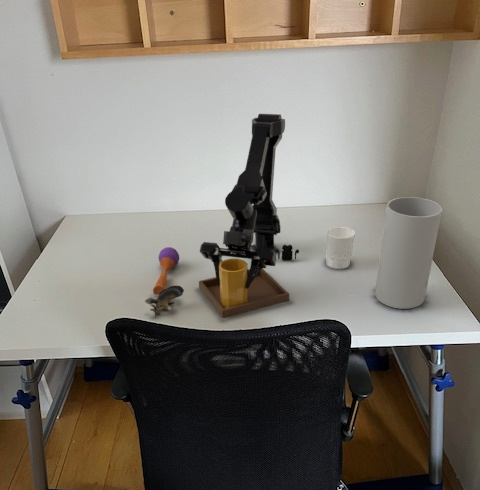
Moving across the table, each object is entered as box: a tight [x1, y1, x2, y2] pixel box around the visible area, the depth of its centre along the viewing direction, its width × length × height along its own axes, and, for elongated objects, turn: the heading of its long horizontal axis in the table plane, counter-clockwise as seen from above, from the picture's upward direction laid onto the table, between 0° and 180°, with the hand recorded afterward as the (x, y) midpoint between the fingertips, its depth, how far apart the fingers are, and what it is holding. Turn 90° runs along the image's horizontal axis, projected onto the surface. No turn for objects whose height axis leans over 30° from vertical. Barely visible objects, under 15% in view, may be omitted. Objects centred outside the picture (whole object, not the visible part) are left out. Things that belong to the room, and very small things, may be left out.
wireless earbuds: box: [274, 244, 300, 262], centre depth 158 cm, size 7×2×5 cm, turn 86°
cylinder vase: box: [374, 196, 443, 310], centre depth 133 cm, size 12×12×25 cm
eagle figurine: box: [144, 285, 185, 318], centre depth 136 cm, size 8×7×9 cm
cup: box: [219, 258, 249, 309], centre depth 135 cm, size 7×7×11 cm
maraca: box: [152, 246, 180, 295], centre depth 150 cm, size 6×6×20 cm
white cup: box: [325, 226, 356, 270], centre depth 154 cm, size 8×8×10 cm
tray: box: [198, 268, 290, 319], centre depth 141 cm, size 17×19×3 cm
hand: (232, 286), depth 133 cm, fingers closed on cup, 7 cm apart
